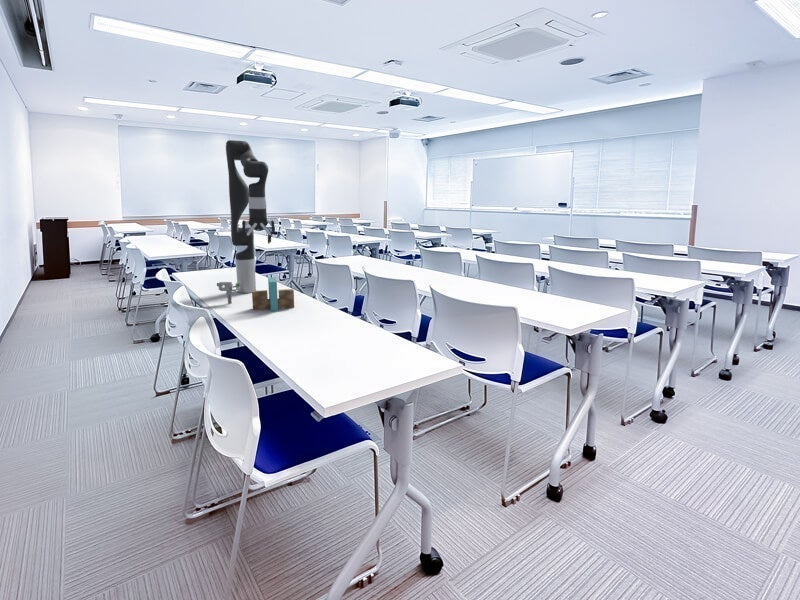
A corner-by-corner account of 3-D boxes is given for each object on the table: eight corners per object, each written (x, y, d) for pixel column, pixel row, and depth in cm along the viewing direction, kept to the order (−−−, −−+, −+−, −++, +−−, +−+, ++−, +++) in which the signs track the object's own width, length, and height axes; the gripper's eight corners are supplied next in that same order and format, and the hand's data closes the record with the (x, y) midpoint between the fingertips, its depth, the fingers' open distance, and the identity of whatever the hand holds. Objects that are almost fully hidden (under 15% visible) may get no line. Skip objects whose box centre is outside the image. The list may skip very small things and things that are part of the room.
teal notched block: (278, 310, 210) (276, 281, 207) (271, 311, 209) (269, 282, 206) (276, 304, 221) (274, 277, 218) (269, 305, 220) (268, 277, 217)
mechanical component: (239, 304, 220) (238, 283, 218) (217, 304, 221) (216, 282, 218) (241, 303, 223) (240, 282, 221) (220, 302, 224) (218, 281, 221)
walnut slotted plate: (253, 309, 211) (252, 292, 209) (252, 308, 213) (251, 290, 212) (294, 307, 216) (293, 290, 215) (293, 306, 219) (293, 289, 217)
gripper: (241, 207, 207) (243, 245, 211) (274, 208, 212) (276, 244, 216) (240, 206, 214) (242, 242, 218) (273, 207, 219) (274, 242, 223)
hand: (259, 243), depth 217 cm, fingers open, 8 cm apart
